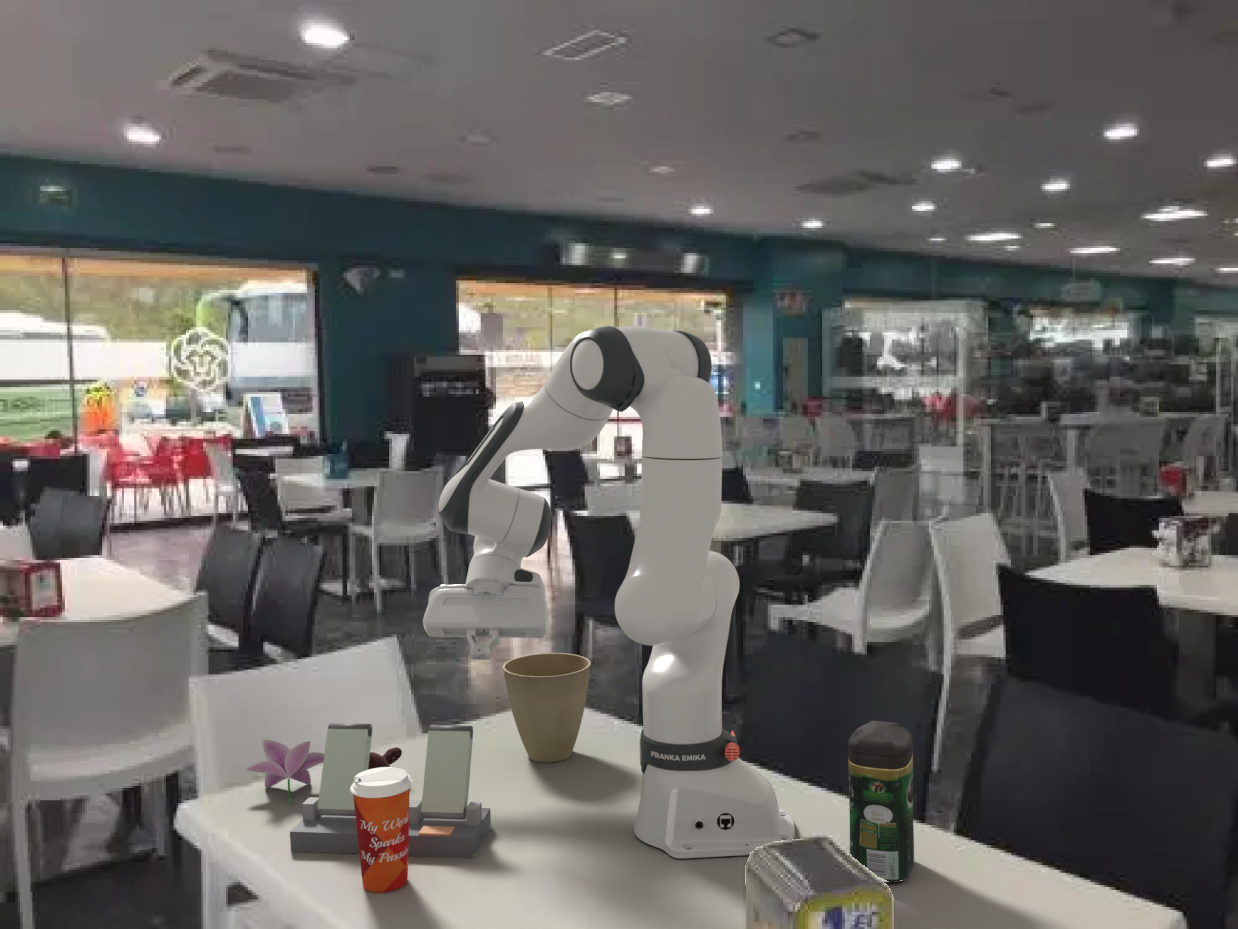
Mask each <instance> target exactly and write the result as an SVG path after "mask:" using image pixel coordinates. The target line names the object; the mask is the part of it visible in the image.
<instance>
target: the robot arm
mask: <svg viewBox="0 0 1238 929" xmlns="http://www.w3.org/2000/svg"><path fill="white" fill-rule="evenodd" d="M712 363H713V362H712V357H711V354H710V350H709V348H708V346H707V344H706V343H705V342H704V341H703V340H702V339H701V338H700V337H698V336H696V335H694V334H692V333H689V332H686V331H683V330H680V329H679V330H678V329H676V330H675V329H673V330H668V329H663V328H655V327H650V326H646V325H628V326H627V325H626V326H616V327H615V326H612V325H605V326H600V327H596V328H591V329H589V330H584V331H582V332H580V333H579V334H577V335H576V336H575V337H574V338H573V339H572V340H571V341H570V343H569V344H568V345H567V346H566V348H565V349H564V351H563V352H562V353H561V355H560V356H559V358H558V359H557V361H556V362H555V364H554V366H553V368H552V369H551V371H550V372H549V375H548V376H547V379H546V381H545V383H544V385H543V386H542V387H541V389H539V390H538V391H537V392H536V393H535V394H534V395H532V396H530V397H529V398H528V399H525V400H524V401H516V402H513V403H512V404H510V405H509V406H508V407H507V408H506V409H505V410H504V412H502V414H501V415H500V416H499V417H498V418H497V420H496V421H495V422H494V424H493V425H492V426H491V427H490V428H489V430H488V432H487V433H486V434H485V435H484V437H483V438H482V439H481V441H480V443H478V445H477V446H476V448H475V449H474V450H473V452H472V453H471V454H470V456H469V457H468V458H467V460H466V461H465V462H464V464H463V465H462V466H461V467H460V468H459V469H458V470H457V471H456V472H455V473H454V474H453V475H452V477H451V478H450V479H449V480H448V482H447V483H446V484H445V486H444V488H443V490H442V492H441V494H440V496H439V501H438V508H437V513H438V514H439V517H440V519H441V521H442V523H443V524H444V525H445V527H446V528H447V529H448V530H449V531H450V532H455V533H459V534H463V535H464V534H465V535H471V536H474V540H473V546H472V548H473V556H472V558H471V559H470V562H469V565H468V570H467V575H466V580H465V584H461V583H459V584H440V585H439V586H437V587H435V588H433V589H431V591H429V595H428V600H427V601H428V602H427V607H426V609H425V612H424V615H423V618H422V625H423V629H424V630H425V632H426V633H427V635H428V636H429V637H431V638H467V641H468V644H469V646H470V651H469V658H470V660H473V661H475V660H477V661H480V660H482V661H489V660H490V659H491V653H492V652H493V651H494V650H495V649H496V647H497V646H498V645H499V644H500V642H501V638H510V639H512V638H513V639H514V638H516V639H517V638H519V639H520V638H521V639H530V638H531V639H542V638H544V636H546V635H547V634H548V632H549V622H550V621H549V620H550V618H549V609H548V604H547V601H546V596H547V595H546V594H547V593H546V588H545V584H544V581H543V579H542V577H541V574H539V573H537V572H535V571H533V570H532V571H531V570H529V569H528V570H527V569H524V568H522V567H521V566H522V565H521V564H522V561H523V559H524V558H528V557H531V556H532V555H534V554H535V553H537V552H538V551H540V550H541V549H542V548H543V547H544V546H545V544H547V540H548V537H549V535H550V529H551V525H552V518H553V512H552V509H551V507H550V504H549V502H548V500H547V499H546V497H544V496H541V495H539V494H537V493H534V492H532V491H529V490H526V489H522V488H519V487H515V486H512V485H510V484H509V485H508V484H506V483H502V482H500V481H498V480H497V481H496V480H493V479H491V477H492V476H493V474H494V473H495V472H496V471H497V470H498V468H499V467H500V466H501V464H502V463H503V461H504V460H505V459H506V458H507V457H508V456H509V455H511V454H513V453H517V452H519V451H521V452H522V451H530V450H548V451H549V450H550V451H571V450H576V449H580V448H582V447H584V446H587V445H589V444H590V443H591V442H593V441H594V440H595V439H596V438H597V437H598V436H599V435H600V433H601V432H602V431H603V428H604V427H605V426H606V424H607V422H608V421H609V418H610V417H611V415H612V413H613V411H617V412H618V413H619V412H620V413H622V412H625V411H626V410H627V409H628V408H629V407H630V408H631V409H633V410H634V411H635V412H636V413H637V415H638V416H639V418H640V422H641V425H642V427H641V429H642V438H641V439H642V441H641V442H642V443H641V445H642V446H641V476H640V477H641V486H640V510H639V518H638V519H639V520H638V525H637V529H636V535H635V539H634V542H633V547H632V551H631V552H632V553H631V555H630V560H629V565H628V569H627V571H626V574H625V578H624V579H623V581H622V583H621V584H620V586H619V588H618V590H617V593H616V595H615V599H614V614H615V618H616V621H617V623H618V625H619V627H620V629H621V630H622V632H623V633H624V634H625V635H626V636H627V637H628V638H629V639H630V640H632V641H633V642H636V643H638V644H640V645H644V646H652V649H651V654H650V655H649V659H648V663H647V665H646V666H645V669H644V671H643V674H642V675H643V676H642V681H641V682H642V684H641V686H642V690H641V691H642V725H643V726H642V727H643V729H641V732H640V736H639V765H640V770H641V774H642V779H641V791H640V798H639V803H638V804H639V805H638V809H637V815H636V818H635V822H634V826H633V832H634V834H635V836H636V837H637V838H638V839H639V840H641V841H642V842H643V843H645V844H647V845H650V846H652V847H655V848H659V849H660V850H662V851H664V852H665V853H667V854H668V855H669V856H671V857H672V858H674V859H695V858H698V859H699V858H715V857H716V858H717V857H732V856H733V857H735V856H749V855H748V854H749V853H750V852H752V851H753V850H754V849H755V848H756V847H759V846H762V845H764V844H767V843H771V842H774V841H781V840H792V839H794V838H795V839H796V829H795V822H794V820H793V817H792V816H791V815H790V813H789V812H788V811H786V810H785V809H784V808H781V807H779V804H778V799H777V794H776V793H775V790H774V788H773V785H772V784H771V782H770V781H769V779H768V778H767V777H766V776H764V775H763V774H762V773H760V772H758V771H757V770H756V769H755V768H753V767H751V766H750V765H749V764H747V763H746V762H745V761H744V760H742V759H741V758H739V757H740V755H741V754H740V750H741V749H740V748H741V747H740V746H739V745H738V741H737V740H738V739H737V737H736V735H735V733H734V730H730V731H731V732H729V731H727V730H726V729H724V728H723V714H722V713H723V706H722V704H723V701H722V699H723V698H722V696H723V695H722V694H723V692H722V691H723V690H722V689H723V686H722V684H723V683H722V681H723V670H724V664H725V663H724V662H725V657H726V650H727V644H728V639H729V634H730V627H731V626H730V625H731V620H732V615H733V614H732V613H733V608H734V606H735V603H736V601H737V598H738V595H739V593H740V577H739V574H738V571H737V569H736V567H735V565H734V564H733V563H732V562H731V560H729V559H730V558H729V559H728V558H727V557H726V556H725V555H724V554H721V553H719V552H717V551H713V550H710V549H711V548H710V547H711V543H712V539H713V537H714V532H715V529H716V527H717V524H718V522H719V520H720V518H721V513H722V493H723V492H722V491H723V490H722V488H723V487H722V486H723V483H722V482H723V480H722V479H723V433H722V425H721V424H722V422H721V415H720V407H719V403H718V397H717V394H716V391H715V389H714V387H713V386H712V385H711V384H710V379H711V375H712V370H713V369H712ZM479 638H489V639H488V641H487V642H486V643H485V644H484V645H483V644H482V645H479V644H478V645H476V644H475V643H477V642H478V640H479Z"/></svg>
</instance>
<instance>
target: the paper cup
mask: <svg viewBox="0 0 1238 929" xmlns="http://www.w3.org/2000/svg"><path fill="white" fill-rule="evenodd" d="M413 783H414V781H413V779H411V775H410V774H409V773H408V772H407V771H406V770H405V769H404V768H399V767H393V766H390V767H380V768H373V769H369V770H366V771H363V772H361V773H359V774H357V775H356V776H355V778H354V780H353V784H352V786H351V788H350V791H351V793H352V794H353V797H354V807H355V817H356V827H357V837H358V846H359V854H358V855H359V863H360V871H361V880H362V886H363V888H364V890H365V891H368V892H370V893H375V894H381V893H382V894H384V893H390V892H394V891H397V890H399V889H401V888H403V887H405V885H406V884H407V882H408V876H409V875H408V872H409V856H408V846H409V802H410V796H411V795H410V789H411V787H412V785H413Z"/></svg>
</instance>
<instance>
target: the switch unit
mask: <svg viewBox="0 0 1238 929" xmlns="http://www.w3.org/2000/svg"><path fill="white" fill-rule="evenodd" d="M318 801H319V797H313V796H311V797H310V796H309V797H308V798H306V800H305V801H303V802H302V804H301V805H302V807H301V808H302V810H301V811H302V819H301V820H300V821H299V822H298V823H297V824H296V825H295V826H294V827H293V828H292V829H291V830H290V831H289V839H290V842H289V843H290V844H289V845H290V852H295V853H296V852H298V853H320V852H321V854H322V852H324V853H325V852H326V853H325V854H327V853H328V854H329V853H330V854H349V853H358V854H357V855H359V846H358V837H357V827H356V817H355V816H331V815H319V814H318ZM421 806H422V799H420V800H419V799H417V800H415V799H411V800H409V846H408V857H409V856H410V857H411V856H413V857H414V856H415V857H433V858H434V857H438V858H439V857H440V858H444V857H445V858H465V859H466V858H469V859H470V858H471V859H473V858H474V856H475V854H476V853H477V851H478V849H479V848H480V846H481V845H482V843H483V841H484V839H485V838H486V836H487V834H488V833H489V832H490V829H491V827H492V825H491V824H492V823H491V820H492V818H491V807H482V806H483V802H482V801H470V802H468V805H467V808H466V818H465V820H463V819H430V818H422V816H421Z"/></svg>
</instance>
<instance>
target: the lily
mask: <svg viewBox="0 0 1238 929" xmlns="http://www.w3.org/2000/svg"><path fill="white" fill-rule="evenodd" d="M261 743H262V749H263V753H264V756H265V759H266V760H264V761H260V762H258V763H255V764H253V765H250V766H248V767H246V768H245V771H247V772H256V773H261V774H262V773H264V774H265V777H264V788H266V789H268V788H272V787H274V786H276V785H277V784H279V783H281V782H282V781H284V780H287V793H288V800H289V804H292V802H293V801H292V795H291V793H292V792H291V780H294V781H297V782H300V783H303V784H305V785H312V779H311V775H310V774H311V773H310V772H309V769H311V768H313V767H315V766H318V765H319V764H320V765H321V764H323V762H324V754H325V752H324V753H323V752H316V751H313V752H312V751H311V752H310V748H311V741H310V740H307V741H303V742H302V743H301V742H300V743H298V744H297V745H296V746H294V747H293V748H291V747H289V746H287V745H285V744H283V743H281V742H279V741H276V740H272V739H263V740H262V741H261Z"/></svg>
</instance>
